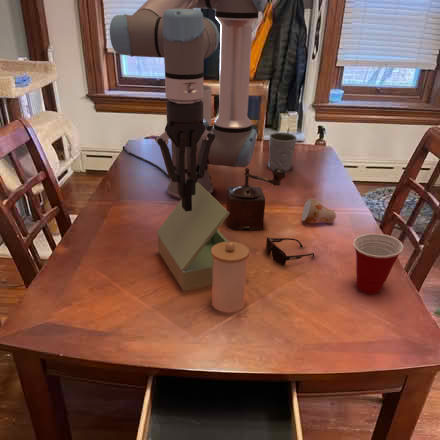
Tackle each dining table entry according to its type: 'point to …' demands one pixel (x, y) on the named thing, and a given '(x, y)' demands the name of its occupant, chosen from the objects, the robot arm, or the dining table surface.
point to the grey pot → (281, 150)
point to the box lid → (192, 226)
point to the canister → (229, 276)
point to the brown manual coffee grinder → (249, 202)
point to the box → (193, 265)
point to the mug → (317, 213)
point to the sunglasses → (278, 253)
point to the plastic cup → (375, 260)
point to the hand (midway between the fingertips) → (186, 208)
